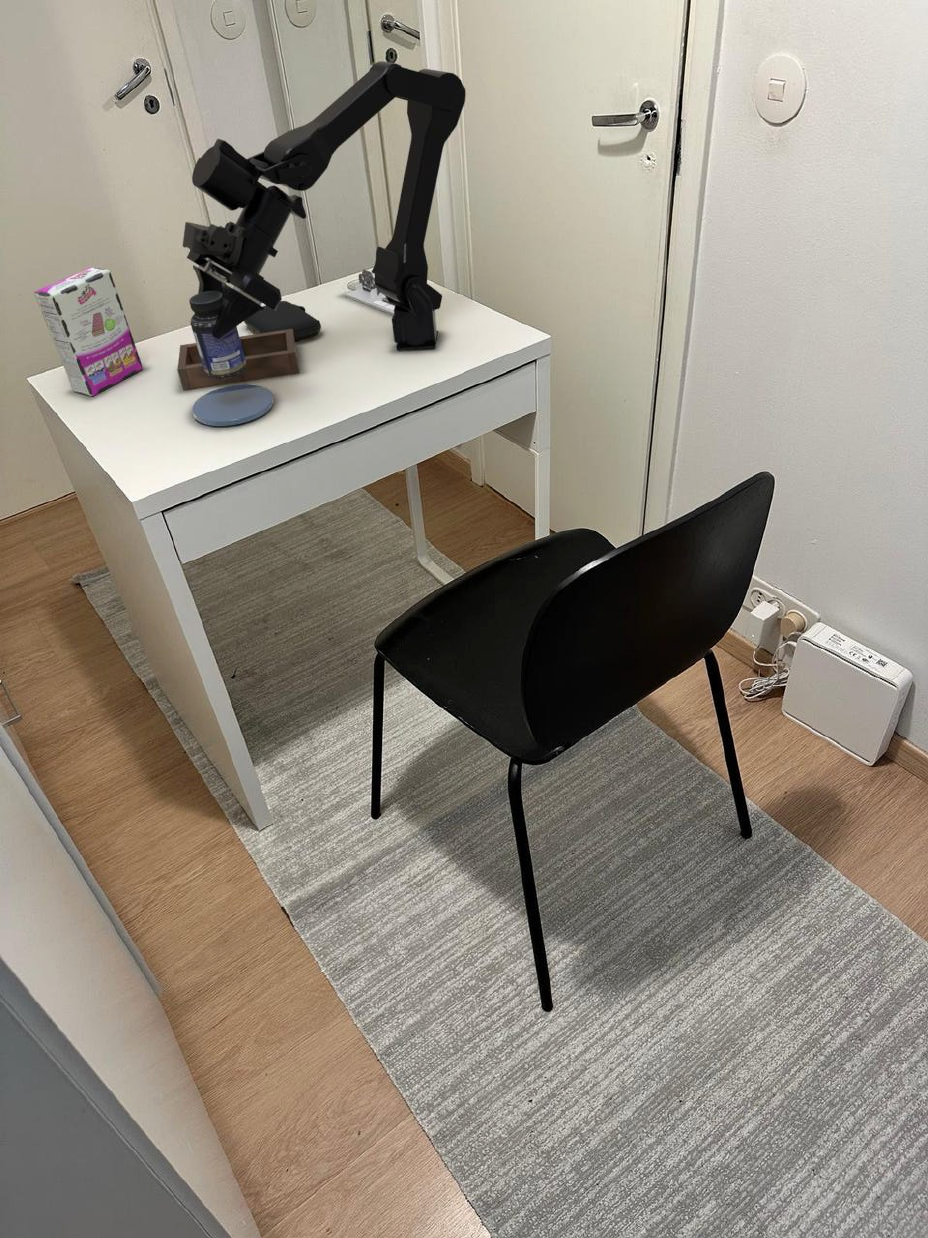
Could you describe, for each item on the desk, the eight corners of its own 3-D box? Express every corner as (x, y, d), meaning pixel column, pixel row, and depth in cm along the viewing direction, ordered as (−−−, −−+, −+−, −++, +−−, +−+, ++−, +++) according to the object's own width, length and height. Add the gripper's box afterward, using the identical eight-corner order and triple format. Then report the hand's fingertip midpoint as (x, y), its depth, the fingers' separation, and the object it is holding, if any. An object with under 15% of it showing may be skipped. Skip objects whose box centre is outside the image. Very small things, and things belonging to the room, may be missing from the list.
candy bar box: (124, 364, 151) (90, 265, 140) (144, 369, 149) (112, 269, 138) (70, 392, 144) (31, 290, 133) (91, 397, 142) (53, 294, 131)
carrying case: (332, 334, 154) (295, 310, 164) (329, 317, 152) (292, 294, 162) (275, 352, 150) (241, 326, 160) (272, 334, 148) (237, 309, 158)
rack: (296, 348, 151) (292, 328, 148) (299, 372, 143) (295, 351, 141) (185, 365, 149) (180, 344, 147) (183, 390, 141) (177, 369, 139)
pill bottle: (255, 365, 132) (237, 290, 125) (229, 383, 128) (208, 307, 121) (223, 359, 135) (203, 286, 128) (196, 377, 131) (174, 302, 124)
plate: (282, 389, 139) (280, 382, 138) (263, 426, 130) (262, 419, 129) (207, 391, 140) (205, 385, 140) (183, 429, 131) (181, 422, 131)
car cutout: (344, 296, 168) (341, 271, 165) (373, 285, 171) (369, 261, 168) (394, 315, 159) (390, 289, 156) (422, 303, 162) (420, 278, 159)
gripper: (181, 183, 124) (131, 285, 127) (238, 209, 112) (181, 321, 115) (246, 227, 132) (197, 322, 135) (306, 256, 120) (251, 360, 123)
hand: (205, 330), depth 127 cm, fingers closed on pill bottle, 6 cm apart
